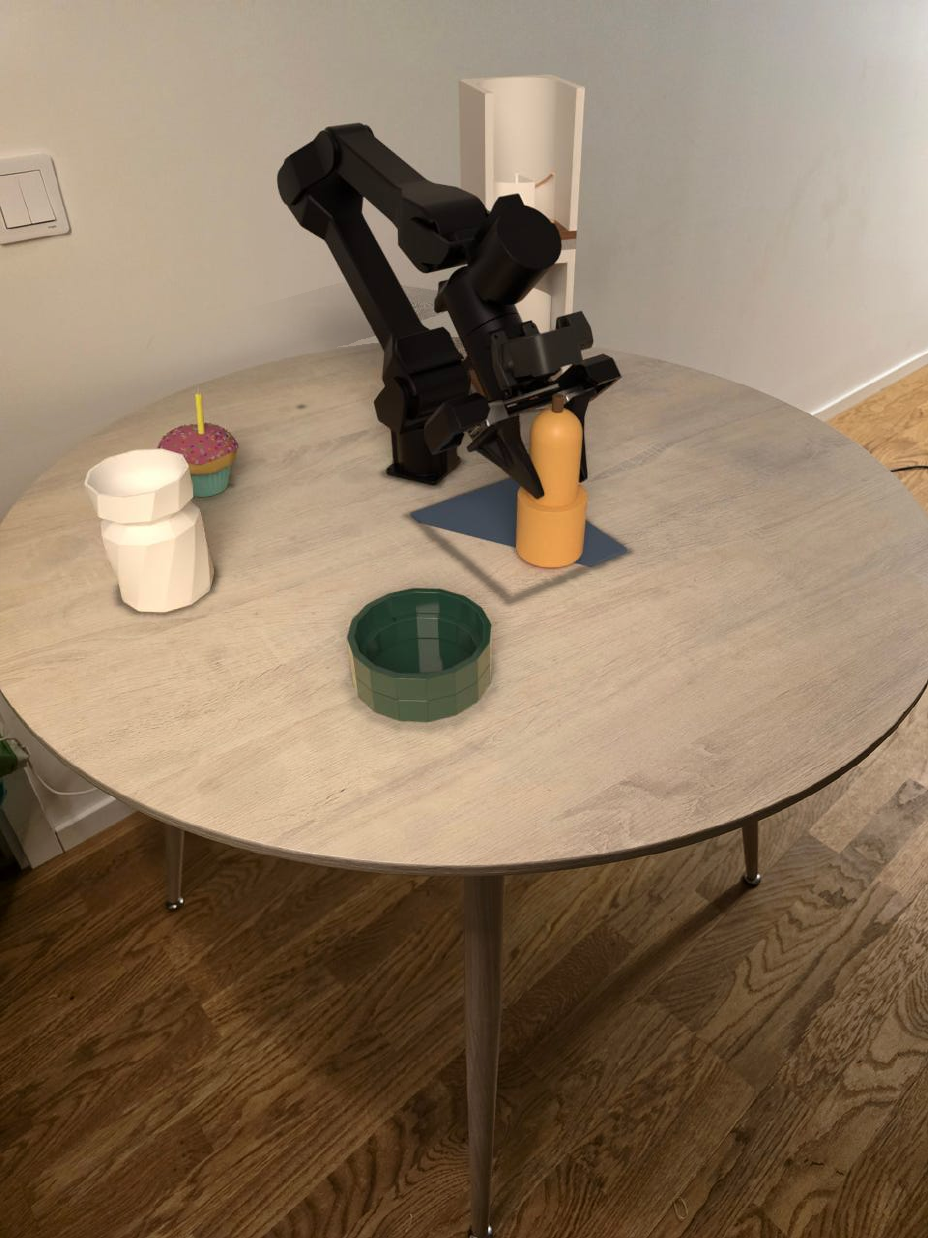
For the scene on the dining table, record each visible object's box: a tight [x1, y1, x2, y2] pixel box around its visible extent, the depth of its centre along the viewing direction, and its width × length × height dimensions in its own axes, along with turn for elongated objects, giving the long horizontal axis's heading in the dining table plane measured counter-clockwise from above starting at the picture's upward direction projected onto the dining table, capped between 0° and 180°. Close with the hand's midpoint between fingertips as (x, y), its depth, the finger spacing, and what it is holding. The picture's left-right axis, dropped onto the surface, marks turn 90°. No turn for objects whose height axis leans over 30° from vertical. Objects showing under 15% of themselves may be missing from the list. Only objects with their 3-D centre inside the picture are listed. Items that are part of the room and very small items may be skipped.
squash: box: [515, 394, 588, 568], centre depth 78 cm, size 6×6×16 cm
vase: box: [83, 448, 215, 613], centre depth 78 cm, size 9×9×12 cm
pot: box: [346, 587, 493, 723], centre depth 69 cm, size 11×11×5 cm
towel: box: [410, 477, 628, 568], centre depth 87 cm, size 18×14×1 cm
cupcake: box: [156, 386, 239, 498], centre depth 92 cm, size 9×8×12 cm
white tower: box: [458, 73, 586, 411], centre depth 103 cm, size 11×11×35 cm
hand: (562, 489), depth 77 cm, fingers closed on squash, 4 cm apart
